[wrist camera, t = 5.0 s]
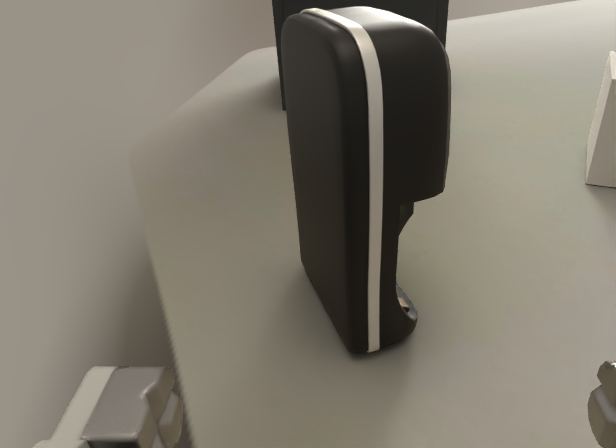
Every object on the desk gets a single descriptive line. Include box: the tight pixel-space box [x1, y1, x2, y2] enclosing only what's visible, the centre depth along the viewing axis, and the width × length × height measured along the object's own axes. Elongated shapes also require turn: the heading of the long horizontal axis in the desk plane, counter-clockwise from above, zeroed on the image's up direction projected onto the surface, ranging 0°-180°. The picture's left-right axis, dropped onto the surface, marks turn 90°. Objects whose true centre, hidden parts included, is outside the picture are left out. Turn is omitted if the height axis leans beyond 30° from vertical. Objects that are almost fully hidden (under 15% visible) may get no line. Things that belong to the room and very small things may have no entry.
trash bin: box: [272, 0, 449, 110], centre depth 46 cm, size 14×14×10 cm
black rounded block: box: [281, 7, 451, 353], centre depth 18 cm, size 7×4×11 cm, turn 18°
